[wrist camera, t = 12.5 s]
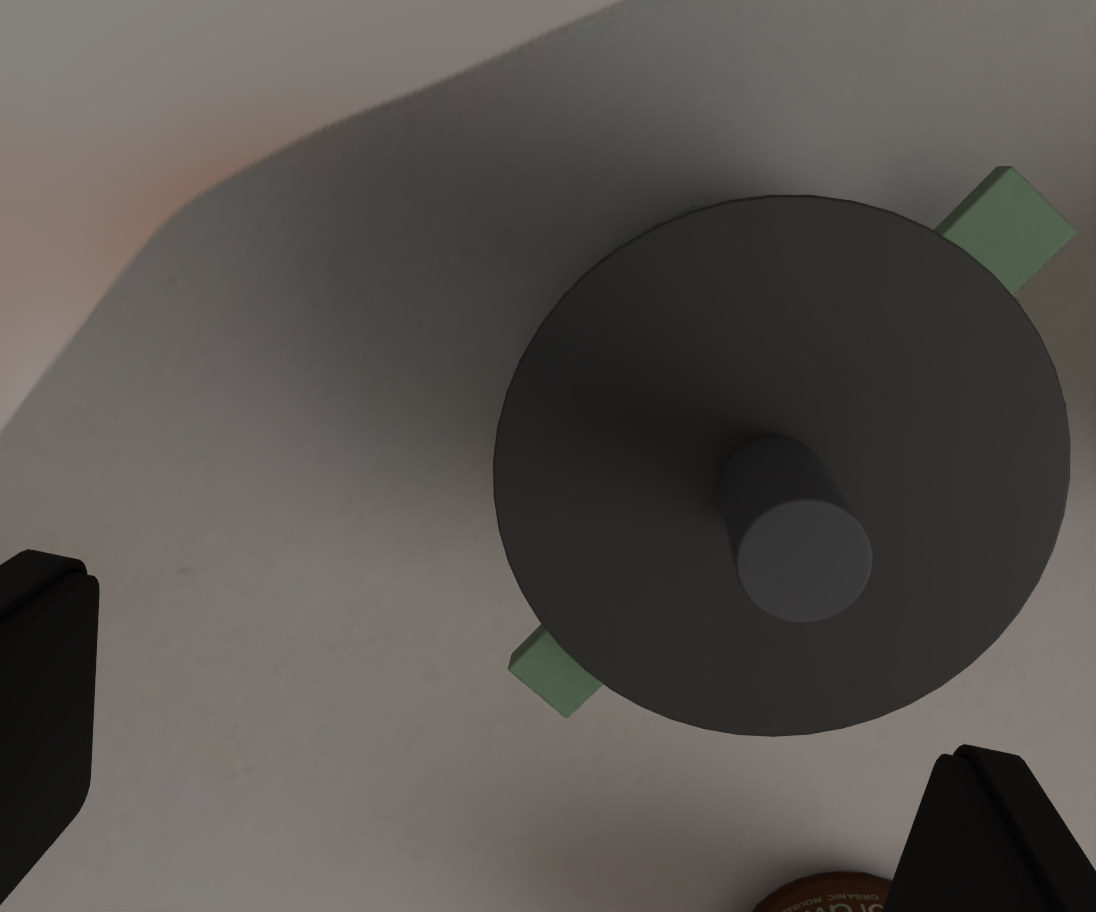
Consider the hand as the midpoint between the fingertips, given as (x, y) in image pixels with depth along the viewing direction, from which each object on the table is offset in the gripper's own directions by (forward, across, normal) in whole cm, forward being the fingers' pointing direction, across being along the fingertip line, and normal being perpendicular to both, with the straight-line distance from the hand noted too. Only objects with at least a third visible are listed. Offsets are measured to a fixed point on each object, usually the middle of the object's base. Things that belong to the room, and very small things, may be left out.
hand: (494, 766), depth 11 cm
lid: (+16, -5, +1) cm, 17 cm away
